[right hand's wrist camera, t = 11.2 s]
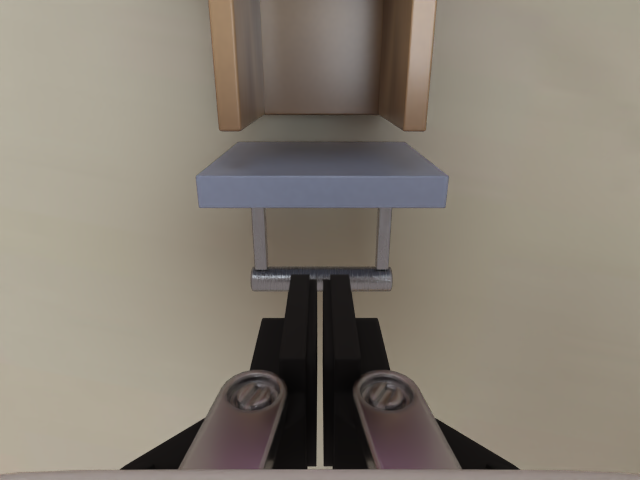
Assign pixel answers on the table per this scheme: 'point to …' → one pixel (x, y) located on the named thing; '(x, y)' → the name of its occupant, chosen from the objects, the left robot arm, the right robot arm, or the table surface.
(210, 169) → the drawer
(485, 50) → the table surface
